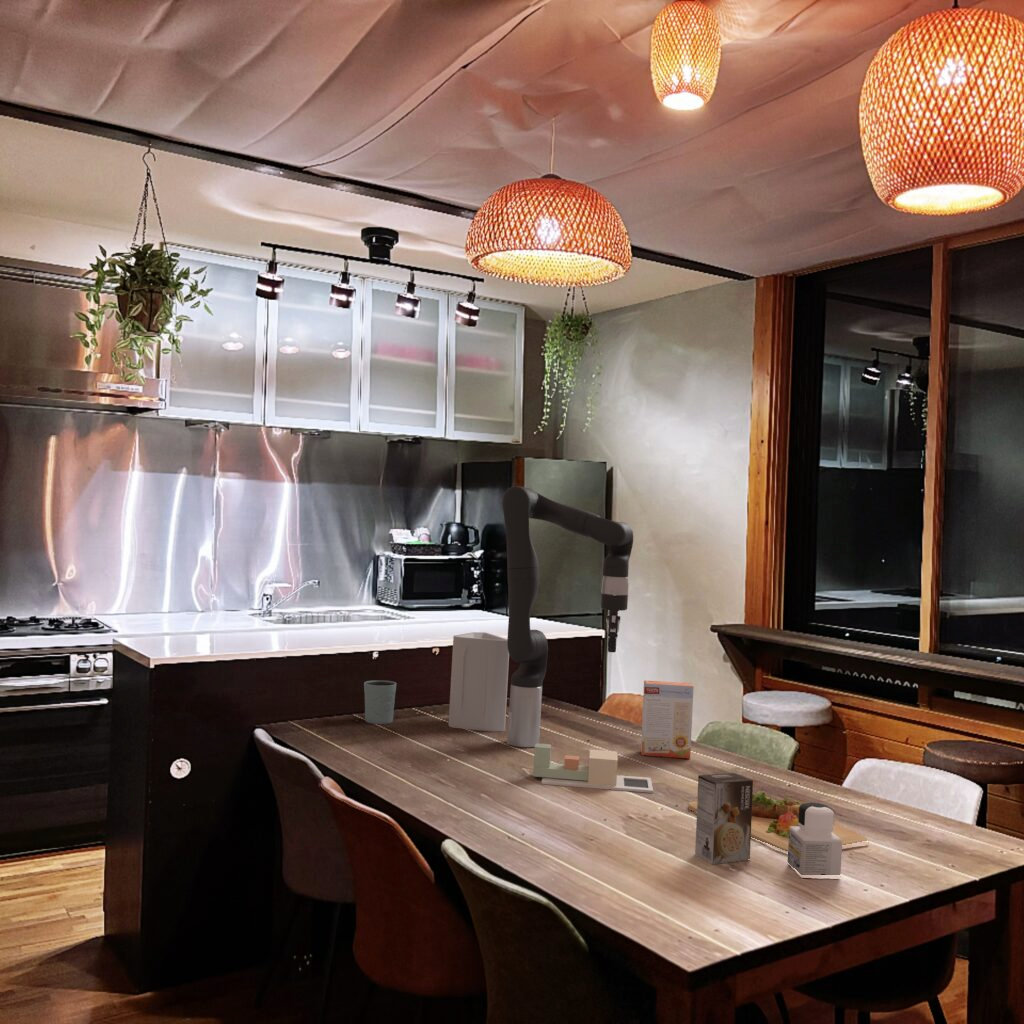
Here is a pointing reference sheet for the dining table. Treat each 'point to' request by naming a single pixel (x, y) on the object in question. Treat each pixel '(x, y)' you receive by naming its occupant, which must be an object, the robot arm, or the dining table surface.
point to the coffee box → (724, 818)
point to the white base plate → (605, 775)
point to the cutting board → (782, 821)
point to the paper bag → (479, 682)
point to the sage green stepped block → (557, 765)
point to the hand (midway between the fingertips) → (611, 650)
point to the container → (815, 842)
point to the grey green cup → (379, 701)
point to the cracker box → (667, 719)
